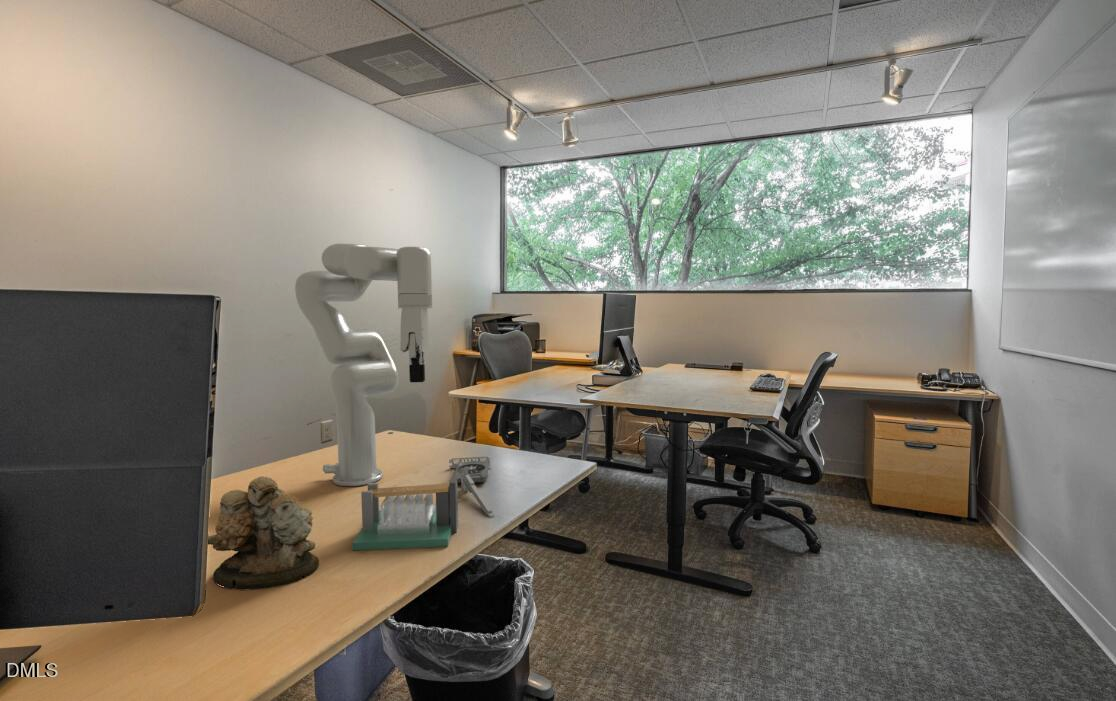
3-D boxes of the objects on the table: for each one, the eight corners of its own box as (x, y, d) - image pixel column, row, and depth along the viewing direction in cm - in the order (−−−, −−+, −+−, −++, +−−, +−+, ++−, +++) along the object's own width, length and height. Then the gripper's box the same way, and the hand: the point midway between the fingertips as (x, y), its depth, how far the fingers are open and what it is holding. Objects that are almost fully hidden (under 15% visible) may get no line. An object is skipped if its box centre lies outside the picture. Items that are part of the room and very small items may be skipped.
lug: (436, 533, 109) (435, 483, 108) (439, 525, 112) (437, 477, 111) (456, 532, 109) (455, 482, 108) (458, 525, 113) (457, 477, 112)
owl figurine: (191, 595, 86) (184, 493, 85) (225, 561, 98) (219, 471, 96) (308, 585, 89) (303, 486, 87) (328, 553, 100) (323, 465, 99)
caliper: (461, 490, 134) (460, 466, 134) (465, 489, 135) (464, 465, 134) (490, 519, 116) (489, 491, 116) (494, 518, 117) (494, 490, 116)
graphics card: (449, 457, 153) (491, 455, 153) (449, 470, 153) (491, 467, 154) (441, 476, 136) (488, 474, 137) (441, 490, 136) (488, 488, 137)
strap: (365, 498, 107) (364, 493, 107) (369, 493, 110) (368, 488, 110) (448, 493, 108) (448, 487, 108) (450, 487, 111) (449, 482, 111)
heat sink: (377, 535, 104) (376, 505, 104) (389, 515, 114) (388, 488, 114) (429, 533, 105) (428, 503, 105) (436, 513, 115) (435, 486, 115)
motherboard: (352, 550, 101) (350, 502, 100) (374, 517, 117) (372, 475, 116) (447, 546, 103) (446, 498, 102) (456, 513, 119) (455, 472, 118)
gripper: (404, 302, 128) (407, 377, 129) (390, 302, 113) (393, 387, 115) (436, 302, 128) (438, 377, 130) (426, 301, 114) (428, 386, 115)
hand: (417, 381), depth 122 cm, fingers closed
